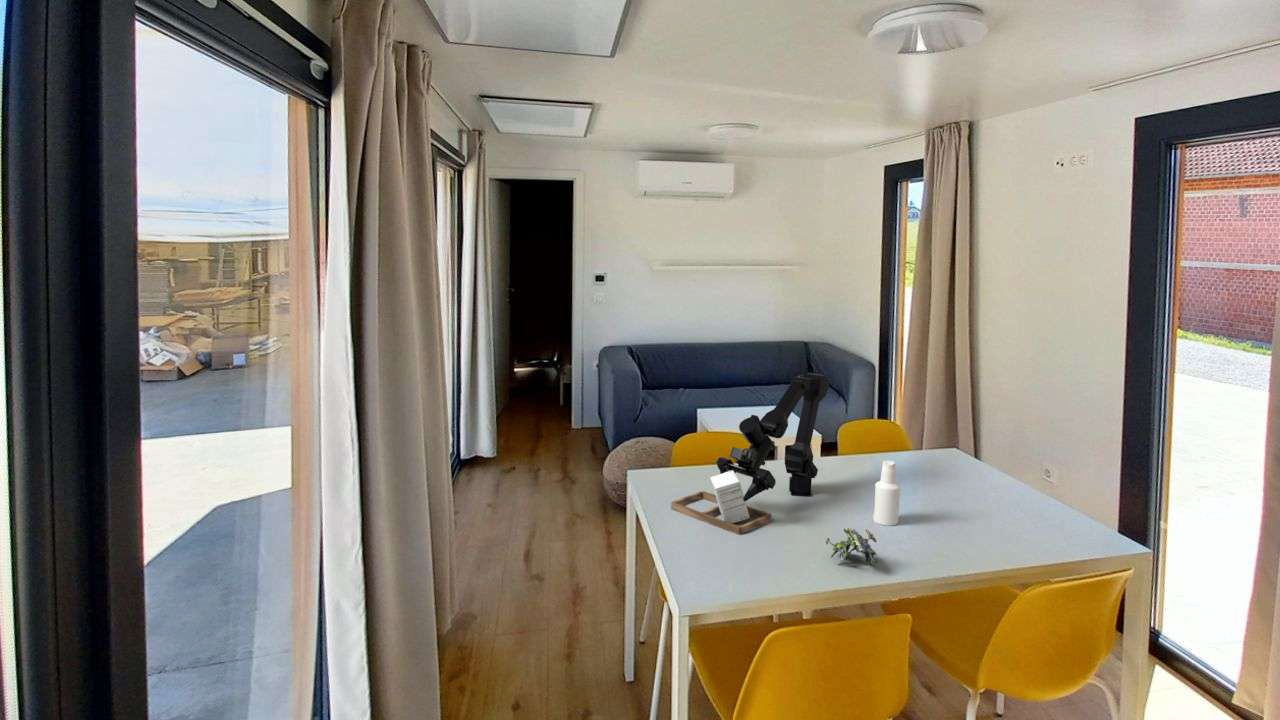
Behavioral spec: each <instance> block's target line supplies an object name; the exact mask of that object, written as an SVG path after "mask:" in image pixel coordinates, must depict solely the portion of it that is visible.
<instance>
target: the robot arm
mask: <svg viewBox="0 0 1280 720" xmlns="http://www.w3.org/2000/svg"><path fill="white" fill-rule="evenodd" d="M829 387H830V380H829V378H828V376H827V375H825V374H819V373H814V372H813V373H812V372H807V373H805V374H803V375H797V376H793V377H792V378H791V381H790V384H789V386H788V387H787V389H786V391H785V392H784V393H783V395H782V396H781V397H780V399H779V401H778V403H776V406H775V407H774V408H773V409H772V410H770V411H768V412H766V413H765V414H764V416H763V417H762V418H759V416H758V415H755V414H751V415H750V417H747V418H745V419H743V420H742V421H740V423H739V426H738V429H739V432H741V434H742V435H743V437H744V438H745V440H746V441H747V442H748V443H749V444H750V445H749V447H748V448H745V447H744V449H742V448H739V447H735V446H732V447H731V448H732V449H731V452H730V454H729V458H727V457H724V456H720V457H719V458H717V461H715V465H716V466H717V468H718V470H719V471H720V472H719V474H722V473H725V472H728V471H732V470H733V471H734V472H735V474H736V473H737V474H740V475H743V476H745V477H750V478H752V481H751V484H749V485H750V486H749V487H748V489H747V490H746V493H745V494H744V498H743V500H744V501H745V502H747V501H748V500H750V499H752V498H753V497H754V496H756V495H759V494H760V493H762V492H765V491H768V490H770V489H772V490H773V489H774V487H775V485H776V483H777V482H776V481H777V480H776V478H775V476H773V474H772V472H771V471H770V470H769V469H768V470H767V469H764V468H761V466H765V465H766V462H765V460H766V457H767V456H768V454H769V452H770V451H776V445H775V440H772V439H771V438H774V439H781V438H783V436H785V433H786V431H787V429H788V427H789V420H788V419H789V418H790V416H791V414H792V413H793V411H794V409H795V408H796V406H797V405H798V403H799V402H800V401H801V398H803V401H802V406H801V407H802V408H801V411H800V415H799V421H798V426H797V431H796V435H795V440H794V443H793V444H792V445H791V446H788V447H787V448H786V453H785V457H784V465H785V471H786V473H787V474H791V475H790V476H789V480H788V481H789V484H788V485H789V486H788V490H789V492H790V495H791V496H799V497H803V496H804V497H812V495H813V494H812V483H813V482H812V479H815V478H816V477H817V476H818V471H819V469H818V468H817V466H816V464H815V463H814V462H813V461H814V453H813V450H812V447H811V445H812V444H811V443H812V439H813V433H814V429H815V424H816V421H817V415H818V409H819V406H820V402H821V401H822V400H823V399H824V398H825V397H826V396H827V392H828V390H829ZM730 458H731V459H732V458H733V459H734V460H735V461H734V462H735V464H734V462H733V461H732V460H731V459H730ZM736 464H737V465H736Z"/></svg>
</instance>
